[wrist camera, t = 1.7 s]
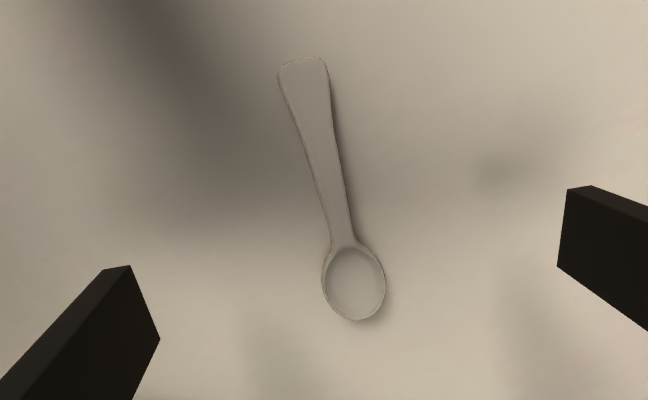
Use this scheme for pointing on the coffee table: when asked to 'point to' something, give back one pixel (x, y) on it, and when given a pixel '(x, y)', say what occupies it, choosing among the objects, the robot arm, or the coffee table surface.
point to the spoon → (331, 192)
